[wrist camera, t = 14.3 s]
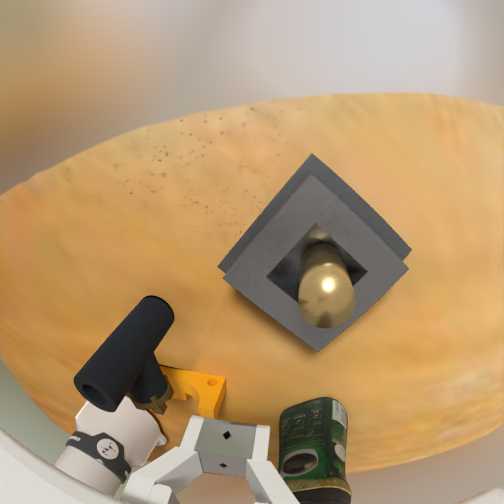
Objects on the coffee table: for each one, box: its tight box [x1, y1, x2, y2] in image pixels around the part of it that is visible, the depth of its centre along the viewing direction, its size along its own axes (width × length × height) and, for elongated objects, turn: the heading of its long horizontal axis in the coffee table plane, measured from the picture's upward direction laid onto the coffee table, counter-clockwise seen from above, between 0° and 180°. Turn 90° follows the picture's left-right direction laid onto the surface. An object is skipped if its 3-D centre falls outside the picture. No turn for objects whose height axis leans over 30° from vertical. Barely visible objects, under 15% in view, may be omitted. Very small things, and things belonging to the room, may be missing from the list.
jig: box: [217, 154, 412, 351], centre depth 26 cm, size 15×14×5 cm
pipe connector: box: [74, 295, 174, 415], centre depth 29 cm, size 12×5×15 cm, turn 7°
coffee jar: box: [278, 397, 352, 504], centre depth 27 cm, size 10×8×19 cm
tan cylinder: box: [298, 244, 356, 328], centre depth 24 cm, size 4×4×8 cm
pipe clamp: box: [159, 364, 226, 419], centre depth 35 cm, size 12×4×6 cm, turn 89°
